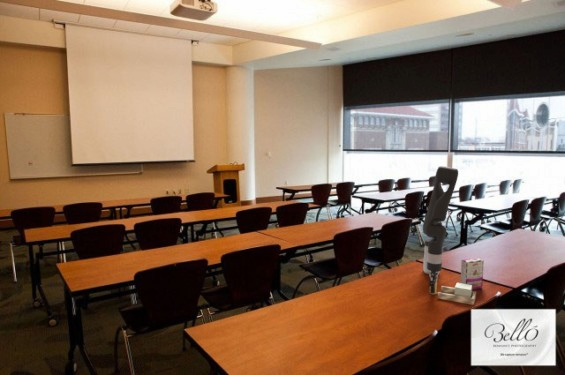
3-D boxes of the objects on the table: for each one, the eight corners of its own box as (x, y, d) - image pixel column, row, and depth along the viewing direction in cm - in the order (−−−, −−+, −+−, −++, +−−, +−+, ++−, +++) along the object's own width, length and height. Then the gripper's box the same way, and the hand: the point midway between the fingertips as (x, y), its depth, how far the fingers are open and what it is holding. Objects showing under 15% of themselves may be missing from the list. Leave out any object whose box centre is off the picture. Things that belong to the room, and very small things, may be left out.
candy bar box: (476, 285, 233) (477, 257, 231) (482, 288, 228) (484, 260, 226) (459, 287, 230) (461, 259, 228) (465, 290, 225) (467, 262, 223)
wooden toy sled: (437, 298, 215) (438, 292, 215) (441, 290, 225) (441, 285, 224) (473, 304, 207) (473, 299, 206) (475, 297, 216) (476, 291, 216)
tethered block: (428, 295, 219) (428, 282, 218) (431, 290, 226) (431, 278, 225) (469, 302, 209) (470, 289, 208) (471, 297, 216) (472, 285, 215)
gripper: (439, 266, 211) (438, 297, 214) (443, 258, 223) (442, 288, 226) (424, 263, 215) (423, 294, 217) (429, 256, 227) (428, 286, 230)
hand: (433, 291), depth 222 cm, fingers closed on tethered block, 3 cm apart
